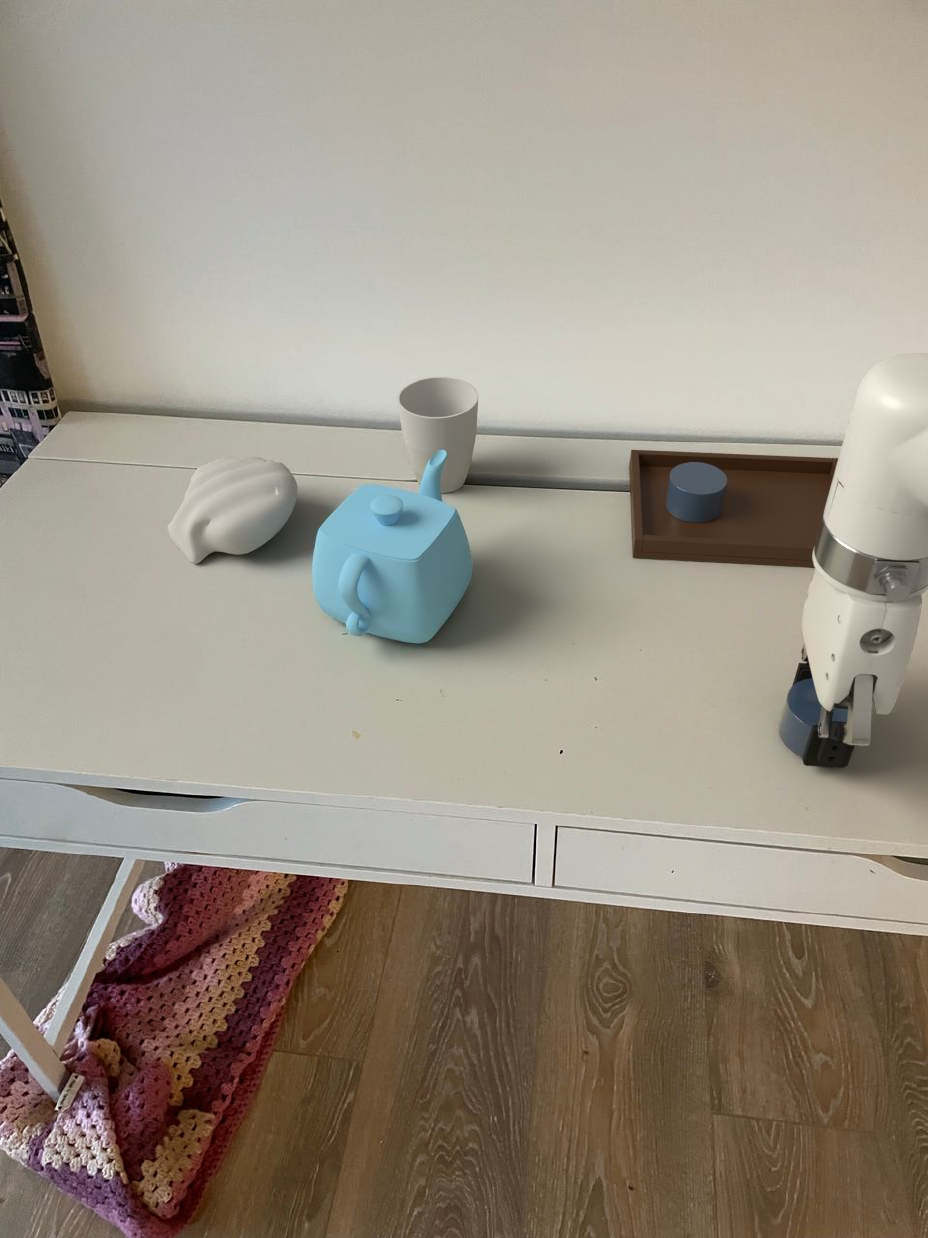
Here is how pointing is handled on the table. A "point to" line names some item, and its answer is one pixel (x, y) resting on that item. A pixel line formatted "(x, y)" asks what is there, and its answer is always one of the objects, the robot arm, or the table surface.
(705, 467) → the blue short cylinder
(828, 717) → the robot arm
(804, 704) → the blue-grey hockey puck
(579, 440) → the table surface
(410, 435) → the cup
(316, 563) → the teapot
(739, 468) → the tray
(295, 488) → the shell shaped sculpture
